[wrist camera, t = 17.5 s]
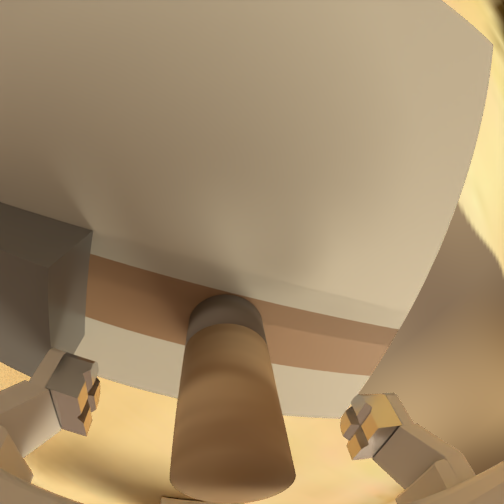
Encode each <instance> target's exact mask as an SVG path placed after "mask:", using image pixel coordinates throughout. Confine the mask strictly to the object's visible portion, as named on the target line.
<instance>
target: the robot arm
mask: <svg viewBox="0 0 504 504" xmlns="http://www.w3.org/2000/svg"><path fill="white" fill-rule="evenodd" d="M98 372H99V369H98V363H97V362H96V361H92V360H89V359H86V358H83V357H80V356H77V355H74V354H71V353H68V352H64V351H61V350H58V349H55V348H52V349H50V350H49V351H48V352H47V354H46V355H45V357H44V358H43V360H42V362H41V363H40V365H39V366H38V368H37V369H36V371H35V373H34V374H33V376H32V377H31V379H30V381H29V382H28V381H26V380H24V381H22V382H20V383H18V384H15V385H13V386H11V387H9V388H6V389H4V390H2V391H0V504H83V503H80V502H77V501H74V500H71V499H68V498H66V497H63V496H60V495H58V494H55V493H53V492H50V491H48V490H45V489H43V488H40V487H38V486H36V485H34V484H31V481H32V478H33V473H32V471H31V469H30V468H29V466H28V465H27V463H26V462H25V460H24V459H23V458H24V457H25V456H27V455H28V454H29V453H31V452H32V451H34V450H35V449H36V448H38V447H39V446H40V445H42V444H43V443H44V442H46V441H47V440H48V439H50V438H51V437H53V436H54V435H55V434H57V433H58V432H59V431H61V429H64V430H67V431H71V432H74V433H77V434H80V435H84V436H87V434H88V431H89V428H90V425H91V423H92V416H91V412H93V411H94V410H96V408H97V405H98V402H99V397H100V381H99V380H98V379H97V374H98ZM351 405H352V407H350V408H349V409H347V410H346V411H345V412H344V414H343V416H342V417H341V423H340V427H341V432H342V435H343V436H344V437H345V438H346V439H348V443H347V448H348V451H349V453H350V456H351V459H352V460H358V459H367V458H373V460H374V461H375V462H376V463H377V464H378V465H379V466H380V467H381V468H382V469H383V470H384V471H386V472H387V473H388V474H389V475H390V476H391V477H392V478H393V479H394V480H395V481H396V482H397V483H398V484H400V485H401V486H402V487H403V488H404V489H405V490H404V491H403V492H402V493H401V494H399V495H398V496H397V498H396V502H397V504H504V461H502V462H500V463H499V464H497V465H495V466H493V467H491V468H490V469H488V470H486V471H484V472H482V473H480V474H478V475H475V474H474V472H473V470H472V468H471V467H470V465H469V464H468V462H467V460H466V459H465V457H464V455H463V453H462V452H461V451H459V450H457V449H456V448H454V447H453V446H451V445H450V444H448V443H446V442H445V441H443V440H442V439H440V438H439V437H437V436H436V435H434V434H432V433H431V432H429V431H428V430H426V429H425V428H423V427H422V426H420V425H419V424H414V423H413V421H412V419H411V418H410V416H409V414H408V413H407V411H406V409H405V408H404V406H403V405H402V403H401V401H400V400H399V398H398V397H397V395H396V394H395V393H383V394H358V395H356V396H355V397H354V398H353V399H352V401H351Z"/></svg>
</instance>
